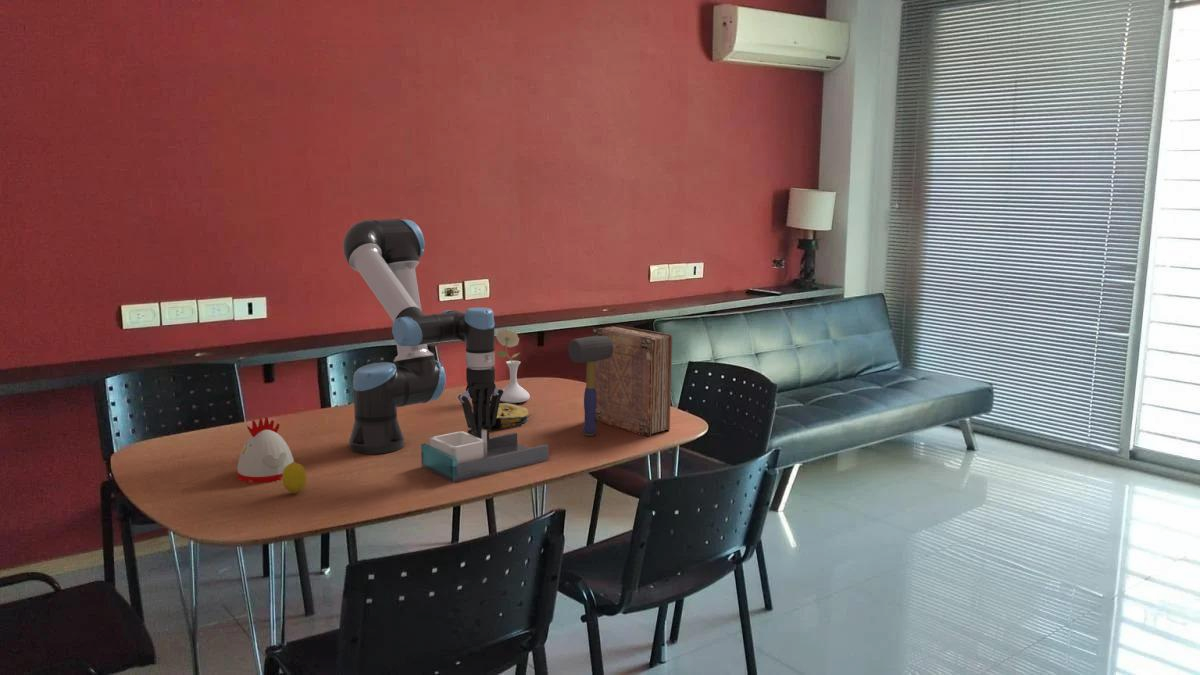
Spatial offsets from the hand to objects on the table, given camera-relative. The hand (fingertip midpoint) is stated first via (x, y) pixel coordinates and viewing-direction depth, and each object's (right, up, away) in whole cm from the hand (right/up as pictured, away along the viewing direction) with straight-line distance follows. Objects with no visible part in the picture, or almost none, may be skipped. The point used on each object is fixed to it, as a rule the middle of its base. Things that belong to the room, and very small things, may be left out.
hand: (482, 452), depth 241 cm
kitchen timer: (-54, -4, -9) cm, 55 cm away
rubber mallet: (+29, +1, +29) cm, 41 cm away
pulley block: (0, +3, +38) cm, 38 cm away
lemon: (-42, -7, -24) cm, 49 cm away
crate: (-6, -3, -5) cm, 8 cm away
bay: (+1, -3, +1) cm, 3 cm away
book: (+41, +3, +40) cm, 57 cm away
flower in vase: (+1, +9, +68) cm, 69 cm away
